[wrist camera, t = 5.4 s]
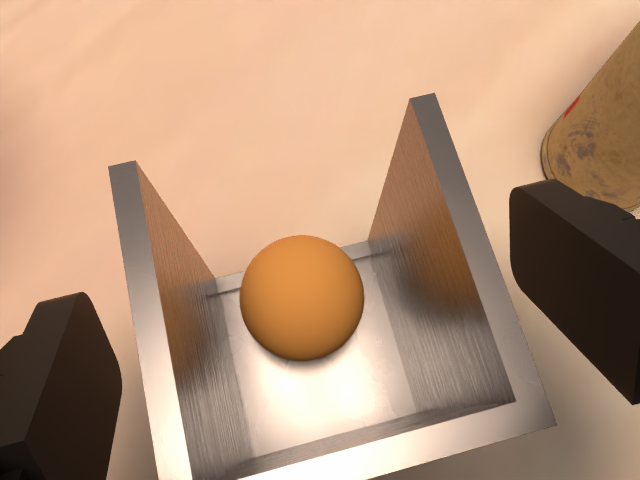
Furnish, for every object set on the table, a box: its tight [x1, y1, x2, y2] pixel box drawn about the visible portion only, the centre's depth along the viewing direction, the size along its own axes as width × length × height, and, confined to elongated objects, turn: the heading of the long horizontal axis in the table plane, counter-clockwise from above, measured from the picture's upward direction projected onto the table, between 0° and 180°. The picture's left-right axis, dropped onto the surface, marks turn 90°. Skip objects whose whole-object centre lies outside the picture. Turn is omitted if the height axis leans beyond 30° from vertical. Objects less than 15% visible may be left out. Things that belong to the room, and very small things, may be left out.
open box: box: [108, 93, 557, 480], centre depth 12 cm, size 5×5×8 cm
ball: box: [239, 235, 365, 361], centre depth 14 cm, size 3×3×3 cm
